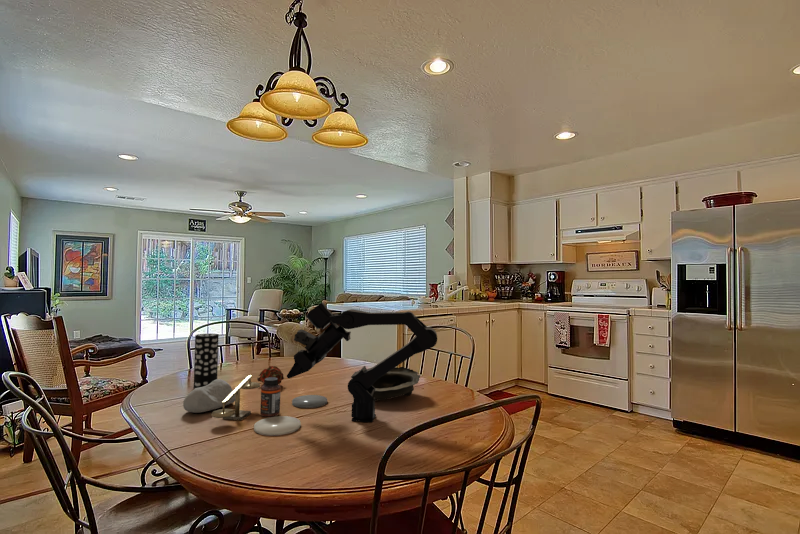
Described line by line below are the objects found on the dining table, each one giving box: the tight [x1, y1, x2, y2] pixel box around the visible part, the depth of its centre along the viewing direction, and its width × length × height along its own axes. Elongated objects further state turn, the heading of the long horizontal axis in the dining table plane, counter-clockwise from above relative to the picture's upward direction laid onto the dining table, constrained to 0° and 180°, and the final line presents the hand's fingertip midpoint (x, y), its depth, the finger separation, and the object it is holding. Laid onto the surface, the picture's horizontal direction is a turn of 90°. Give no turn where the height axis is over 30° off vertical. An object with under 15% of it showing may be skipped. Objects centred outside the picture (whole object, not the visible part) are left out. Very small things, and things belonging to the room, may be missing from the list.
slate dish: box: [291, 394, 328, 409], centre depth 145 cm, size 12×12×1 cm
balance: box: [211, 374, 261, 422], centre depth 129 cm, size 6×22×11 cm, turn 172°
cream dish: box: [253, 415, 302, 437], centre depth 121 cm, size 13×13×1 cm
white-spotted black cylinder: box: [193, 333, 219, 389], centre depth 163 cm, size 8×8×20 cm
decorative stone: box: [182, 378, 235, 414], centre depth 136 cm, size 17×10×10 cm
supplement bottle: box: [259, 377, 281, 418], centre depth 132 cm, size 6×6×11 cm
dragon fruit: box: [256, 365, 285, 386], centre depth 166 cm, size 8×8×12 cm
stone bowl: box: [372, 366, 421, 402], centre depth 154 cm, size 25×25×9 cm
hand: (292, 373), depth 132 cm, fingers open, 9 cm apart
